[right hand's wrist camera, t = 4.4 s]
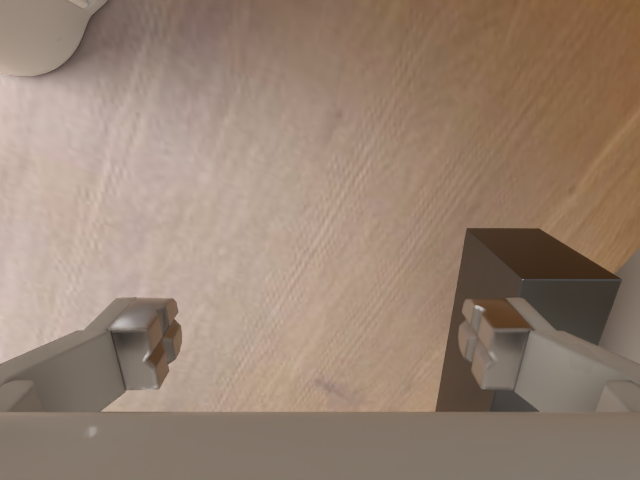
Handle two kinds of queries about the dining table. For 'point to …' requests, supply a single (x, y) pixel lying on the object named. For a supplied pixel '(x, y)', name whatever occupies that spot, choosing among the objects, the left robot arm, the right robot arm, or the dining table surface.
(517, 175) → the dining table surface
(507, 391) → the bar
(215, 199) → the dining table surface
